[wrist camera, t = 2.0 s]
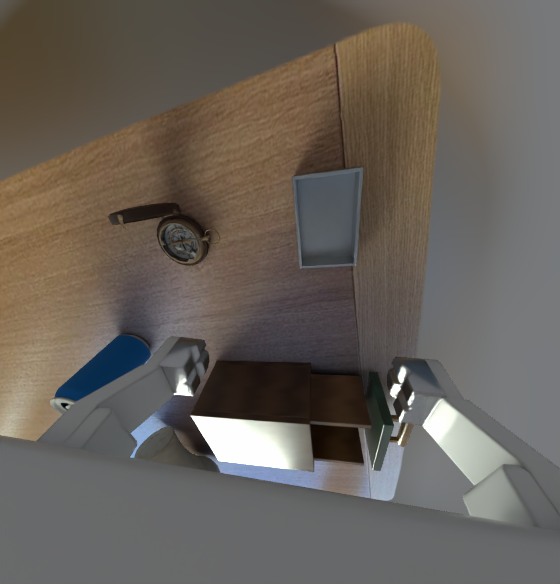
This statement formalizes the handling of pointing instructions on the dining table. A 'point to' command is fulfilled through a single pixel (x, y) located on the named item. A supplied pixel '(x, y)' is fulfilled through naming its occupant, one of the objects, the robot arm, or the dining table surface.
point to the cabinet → (258, 414)
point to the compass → (171, 231)
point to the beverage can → (102, 370)
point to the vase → (172, 451)
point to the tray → (328, 217)
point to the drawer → (351, 420)
